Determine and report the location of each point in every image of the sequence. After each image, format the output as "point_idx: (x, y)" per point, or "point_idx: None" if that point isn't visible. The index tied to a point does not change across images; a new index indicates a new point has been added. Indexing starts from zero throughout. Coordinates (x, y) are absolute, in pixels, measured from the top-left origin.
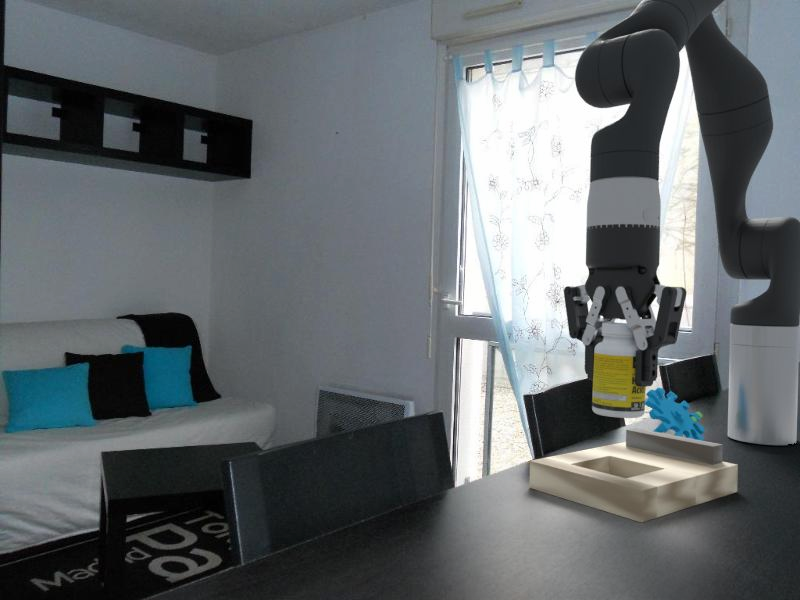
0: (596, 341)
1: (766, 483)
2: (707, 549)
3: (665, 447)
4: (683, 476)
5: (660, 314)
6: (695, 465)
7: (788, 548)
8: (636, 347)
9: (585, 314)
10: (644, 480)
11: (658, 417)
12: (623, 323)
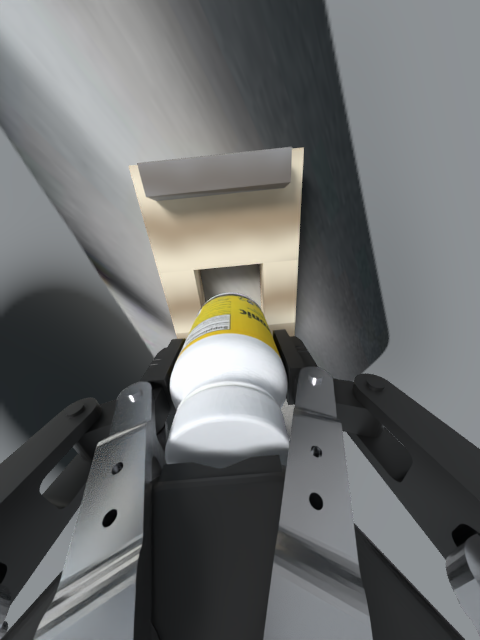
0: (163, 413)
1: (297, 54)
2: (338, 332)
3: (216, 192)
4: (291, 273)
5: (423, 515)
6: (273, 214)
7: (377, 288)
8: (283, 402)
9: (33, 498)
10: (277, 316)
11: None
12: (229, 453)
